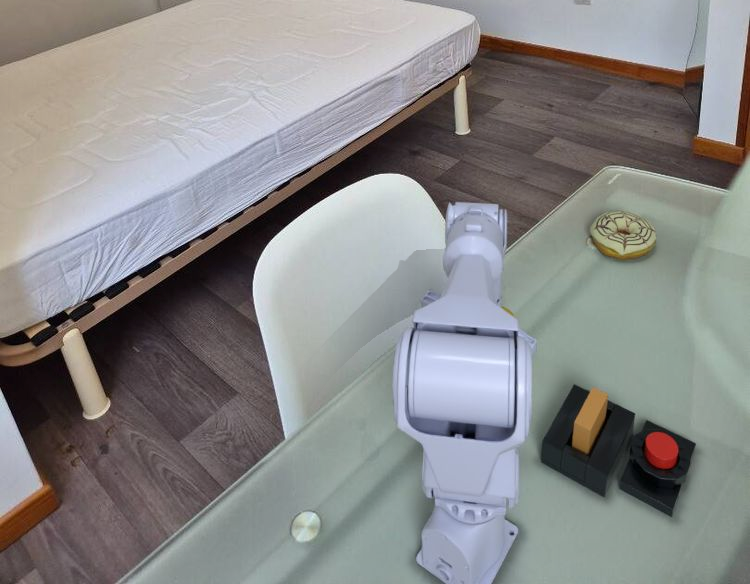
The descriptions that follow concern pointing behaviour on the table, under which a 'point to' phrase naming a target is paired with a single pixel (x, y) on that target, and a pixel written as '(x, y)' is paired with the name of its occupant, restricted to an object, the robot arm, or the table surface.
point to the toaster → (606, 453)
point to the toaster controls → (656, 472)
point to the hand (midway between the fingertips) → (476, 372)
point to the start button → (661, 450)
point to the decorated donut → (623, 235)
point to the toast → (590, 422)
